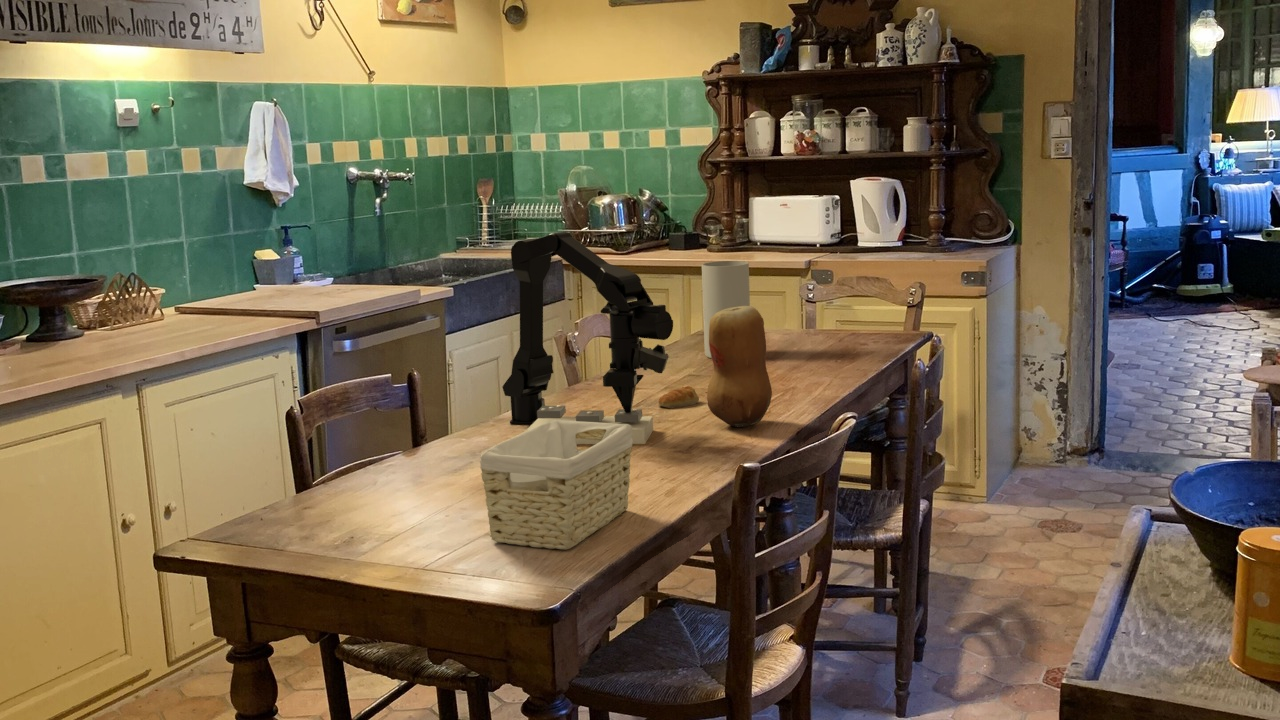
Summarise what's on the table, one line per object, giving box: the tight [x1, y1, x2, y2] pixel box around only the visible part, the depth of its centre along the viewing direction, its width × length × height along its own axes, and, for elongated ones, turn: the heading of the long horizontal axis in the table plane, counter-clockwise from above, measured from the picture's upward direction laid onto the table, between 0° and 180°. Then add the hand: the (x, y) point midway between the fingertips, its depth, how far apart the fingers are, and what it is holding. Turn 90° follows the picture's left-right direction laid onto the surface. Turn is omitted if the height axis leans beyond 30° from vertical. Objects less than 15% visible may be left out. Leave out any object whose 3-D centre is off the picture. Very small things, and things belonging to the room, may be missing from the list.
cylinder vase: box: [701, 260, 751, 360], centre depth 326 cm, size 12×12×25 cm
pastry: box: [658, 385, 700, 409], centre depth 274 cm, size 9×7×4 cm
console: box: [526, 415, 654, 445], centre depth 249 cm, size 24×11×3 cm, turn 80°
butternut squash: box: [706, 305, 773, 428], centre depth 250 cm, size 14×13×25 cm
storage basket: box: [479, 420, 633, 551], centre depth 193 cm, size 24×16×15 cm
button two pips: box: [614, 408, 643, 422], centre depth 247 cm, size 5×5×2 cm
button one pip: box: [575, 409, 605, 423], centre depth 248 cm, size 5×5×2 cm
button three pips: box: [537, 404, 567, 418], centre depth 249 cm, size 5×5×2 cm
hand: (628, 412), depth 247 cm, fingers closed, pressing on button two pips
